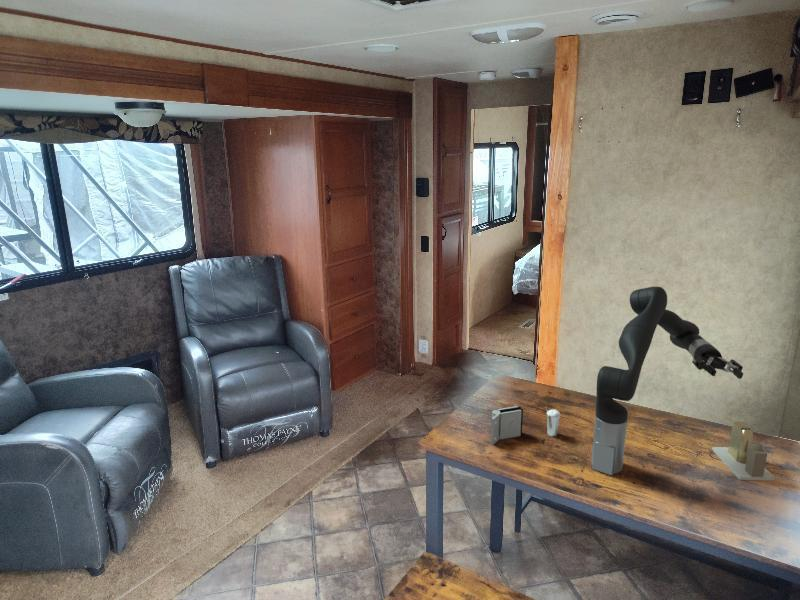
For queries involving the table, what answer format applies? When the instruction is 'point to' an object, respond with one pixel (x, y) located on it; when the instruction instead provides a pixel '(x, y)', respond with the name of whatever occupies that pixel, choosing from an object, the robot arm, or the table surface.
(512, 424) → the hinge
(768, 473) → the mounting plate
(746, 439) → the brown tall block
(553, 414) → the milkshake
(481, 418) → the table surface
